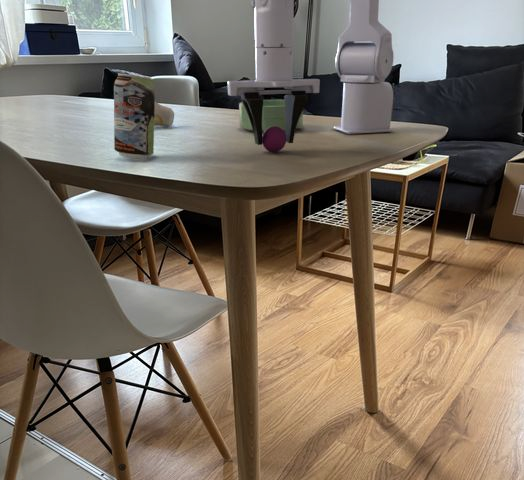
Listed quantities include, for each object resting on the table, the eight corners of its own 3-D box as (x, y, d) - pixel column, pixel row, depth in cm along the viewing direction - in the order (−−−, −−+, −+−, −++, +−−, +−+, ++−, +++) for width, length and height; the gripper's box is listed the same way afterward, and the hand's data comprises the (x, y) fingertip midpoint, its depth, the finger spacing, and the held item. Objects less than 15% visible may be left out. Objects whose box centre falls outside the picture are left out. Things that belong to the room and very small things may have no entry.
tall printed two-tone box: (108, 158, 82) (95, 73, 75) (147, 152, 86) (138, 71, 80) (130, 163, 78) (117, 74, 71) (169, 157, 82) (161, 72, 76)
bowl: (291, 123, 115) (291, 98, 112) (311, 131, 104) (312, 104, 101) (234, 126, 112) (233, 101, 109) (248, 135, 101) (247, 107, 99)
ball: (281, 149, 87) (282, 124, 85) (289, 153, 84) (289, 127, 82) (259, 150, 86) (259, 125, 84) (265, 155, 83) (265, 128, 81)
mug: (180, 129, 110) (153, 85, 103) (142, 150, 112) (113, 109, 105) (180, 116, 115) (154, 73, 108) (144, 136, 117) (117, 96, 111)
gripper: (233, 48, 72) (236, 149, 79) (328, 47, 75) (323, 144, 83) (223, 48, 78) (227, 142, 85) (312, 46, 81) (309, 137, 88)
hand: (274, 143), depth 84 cm, fingers open, 5 cm apart
